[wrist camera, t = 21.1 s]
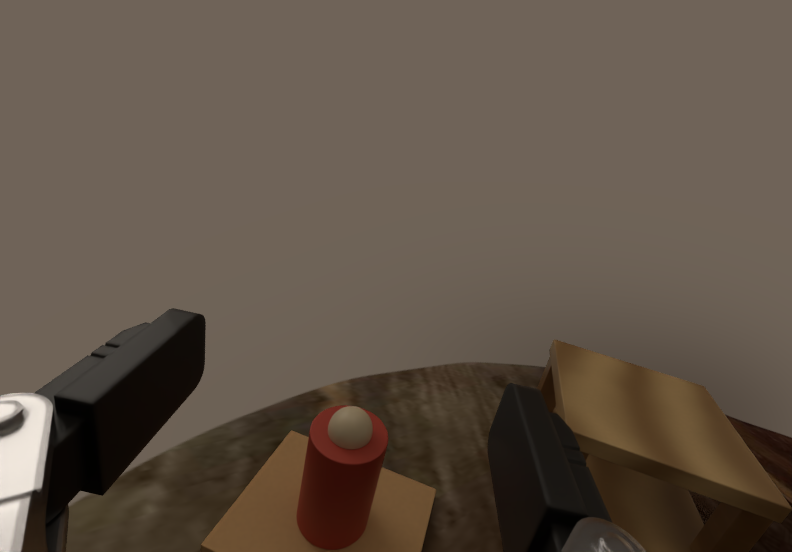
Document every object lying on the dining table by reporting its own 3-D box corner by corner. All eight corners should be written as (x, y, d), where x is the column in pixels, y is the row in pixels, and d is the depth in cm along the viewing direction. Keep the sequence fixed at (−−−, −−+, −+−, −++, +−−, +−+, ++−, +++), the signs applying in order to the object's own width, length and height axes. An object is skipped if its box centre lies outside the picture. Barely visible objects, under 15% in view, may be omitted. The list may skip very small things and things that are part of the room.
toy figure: (377, 499, 28) (402, 402, 25) (351, 563, 24) (378, 455, 21) (316, 474, 29) (334, 377, 26) (282, 531, 25) (298, 423, 22)
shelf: (650, 476, 37) (704, 386, 33) (704, 619, 26) (793, 509, 22) (517, 427, 39) (553, 338, 35) (515, 540, 28) (567, 429, 24)
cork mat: (434, 494, 30) (436, 489, 30) (396, 648, 21) (398, 642, 21) (290, 435, 33) (291, 430, 32) (200, 551, 23) (200, 544, 23)
